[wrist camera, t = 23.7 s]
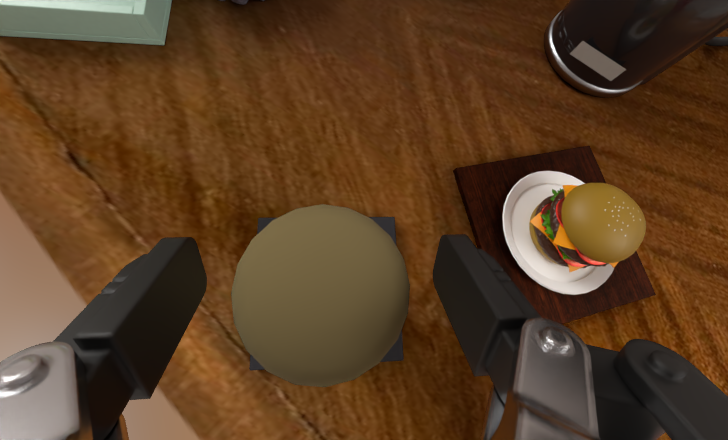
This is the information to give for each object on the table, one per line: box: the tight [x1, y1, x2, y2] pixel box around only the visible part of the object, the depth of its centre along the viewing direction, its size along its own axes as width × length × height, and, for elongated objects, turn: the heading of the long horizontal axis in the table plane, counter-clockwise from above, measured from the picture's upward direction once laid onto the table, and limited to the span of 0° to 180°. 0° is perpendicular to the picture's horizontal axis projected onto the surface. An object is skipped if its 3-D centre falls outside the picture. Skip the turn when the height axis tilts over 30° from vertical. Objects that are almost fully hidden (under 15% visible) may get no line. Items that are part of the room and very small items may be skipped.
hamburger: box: [453, 146, 656, 324], centre depth 18 cm, size 12×12×6 cm
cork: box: [231, 204, 410, 387], centre depth 12 cm, size 6×6×11 cm
